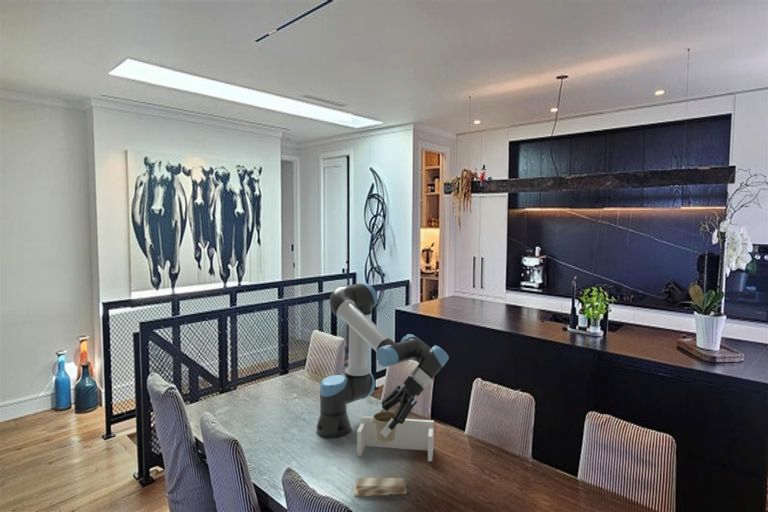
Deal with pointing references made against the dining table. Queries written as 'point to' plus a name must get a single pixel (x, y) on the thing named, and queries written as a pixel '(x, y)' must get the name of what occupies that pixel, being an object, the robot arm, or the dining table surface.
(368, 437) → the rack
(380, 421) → the flower pot
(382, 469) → the dining table surface
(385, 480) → the offcut stack
